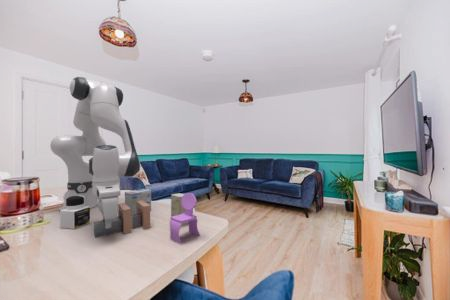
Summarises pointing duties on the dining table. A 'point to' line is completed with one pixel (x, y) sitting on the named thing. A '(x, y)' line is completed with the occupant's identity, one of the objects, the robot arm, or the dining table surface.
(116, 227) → the steel block
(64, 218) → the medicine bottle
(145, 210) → the brick collars
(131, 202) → the light bulb box
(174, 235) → the toy chair
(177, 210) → the skincare box
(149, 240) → the dining table surface
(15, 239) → the dining table surface
